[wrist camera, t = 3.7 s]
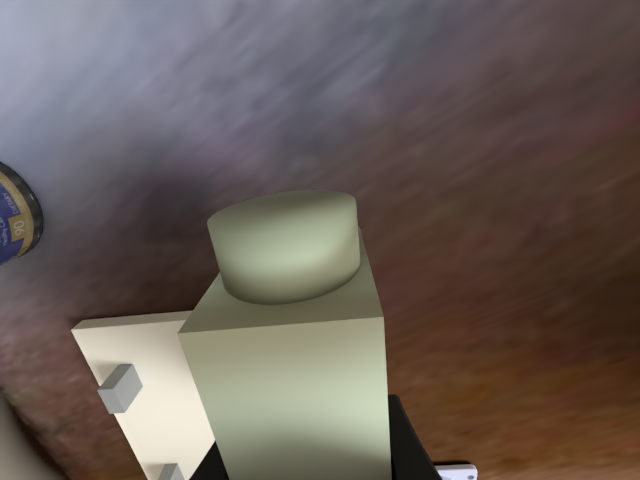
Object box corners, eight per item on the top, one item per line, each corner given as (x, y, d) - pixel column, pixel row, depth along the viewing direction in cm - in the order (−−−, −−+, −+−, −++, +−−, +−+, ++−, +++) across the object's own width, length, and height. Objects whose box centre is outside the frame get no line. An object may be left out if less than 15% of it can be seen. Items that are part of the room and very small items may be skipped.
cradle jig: (302, 484, 26) (299, 528, 23) (166, 490, 27) (147, 533, 24) (262, 304, 19) (250, 336, 16) (82, 320, 20) (42, 353, 17)
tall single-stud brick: (376, 460, 15) (398, 617, 10) (294, 464, 15) (279, 618, 10) (355, 179, 10) (379, 237, 5) (233, 193, 10) (150, 259, 5)
